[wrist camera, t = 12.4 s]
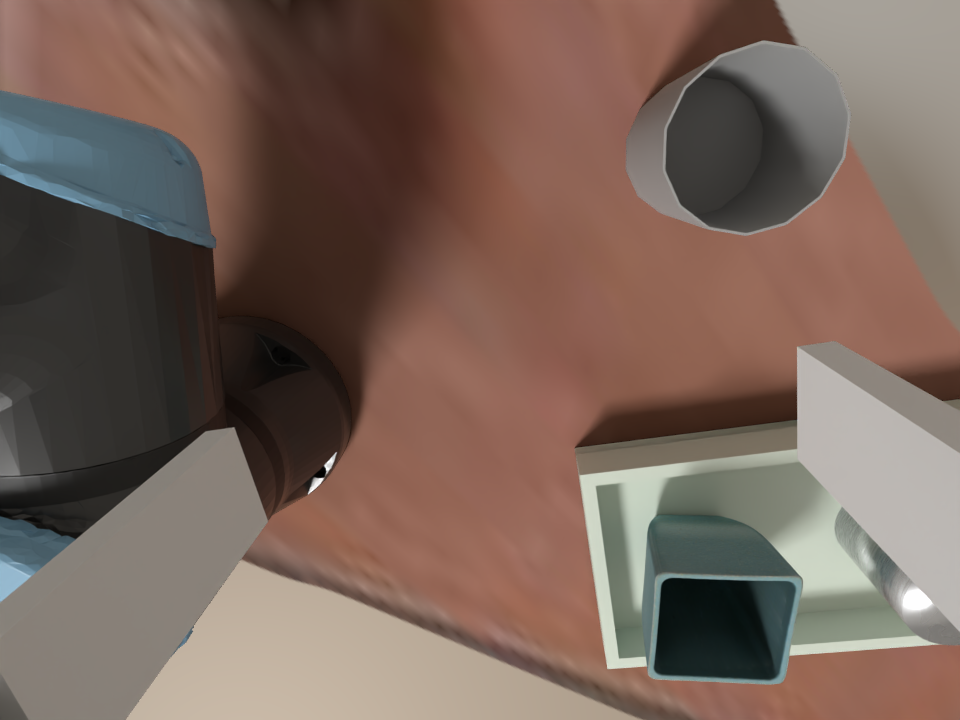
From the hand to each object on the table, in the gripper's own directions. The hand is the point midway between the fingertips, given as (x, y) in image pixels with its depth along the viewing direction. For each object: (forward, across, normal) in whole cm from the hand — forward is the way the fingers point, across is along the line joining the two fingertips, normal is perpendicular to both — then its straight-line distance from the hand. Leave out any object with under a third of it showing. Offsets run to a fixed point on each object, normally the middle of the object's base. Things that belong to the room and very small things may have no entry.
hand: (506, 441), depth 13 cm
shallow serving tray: (+27, +16, -24) cm, 39 cm away
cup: (+27, +12, +5) cm, 30 cm away
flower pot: (+26, +9, -24) cm, 36 cm away
